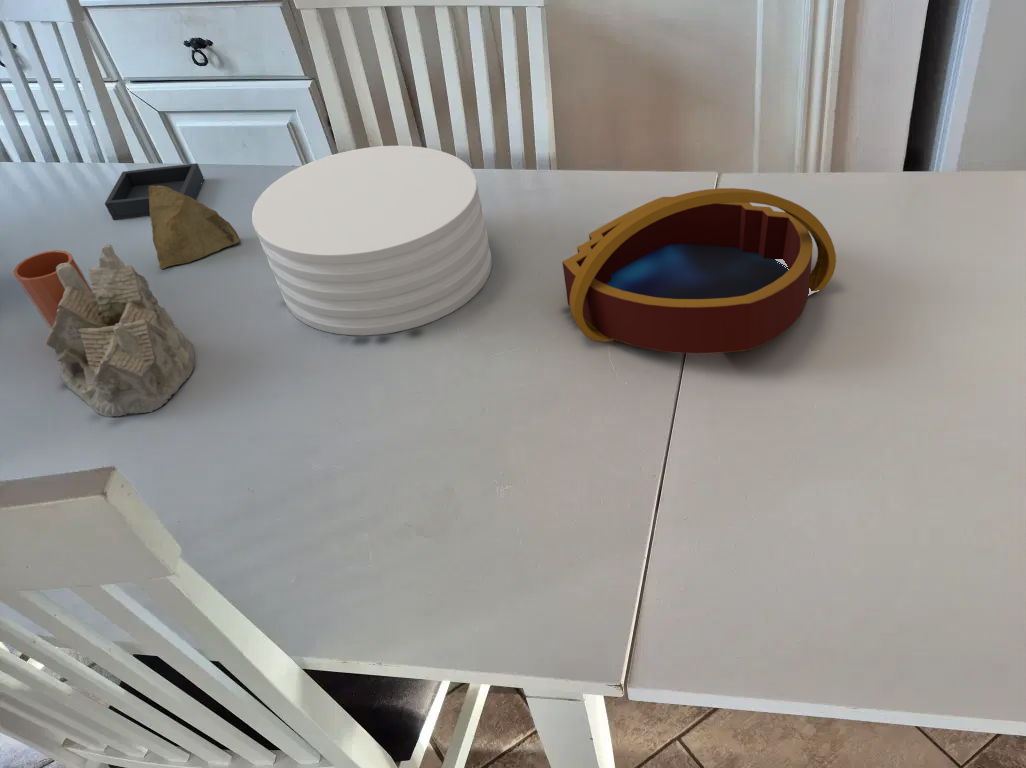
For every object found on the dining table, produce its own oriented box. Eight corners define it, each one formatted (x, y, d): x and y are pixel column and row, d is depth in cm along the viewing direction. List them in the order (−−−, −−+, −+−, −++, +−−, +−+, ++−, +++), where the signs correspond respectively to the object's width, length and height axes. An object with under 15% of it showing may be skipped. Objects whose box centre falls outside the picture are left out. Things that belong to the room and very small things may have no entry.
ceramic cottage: (88, 335, 107) (22, 233, 95) (217, 336, 107) (165, 233, 95) (30, 424, 97) (-52, 321, 85) (172, 424, 97) (109, 322, 85)
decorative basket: (790, 246, 119) (792, 137, 110) (882, 338, 97) (895, 211, 87) (556, 289, 115) (538, 180, 106) (596, 397, 92) (577, 269, 83)
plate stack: (472, 206, 126) (457, 131, 118) (510, 307, 108) (495, 226, 99) (281, 243, 121) (251, 167, 113) (286, 356, 103) (251, 274, 94)
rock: (247, 212, 123) (177, 206, 123) (222, 186, 115) (147, 179, 114) (238, 283, 122) (167, 277, 121) (213, 262, 113) (137, 255, 113)
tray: (113, 219, 128) (104, 203, 126) (130, 187, 135) (122, 171, 133) (191, 210, 129) (183, 194, 127) (204, 179, 136) (197, 163, 134)
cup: (52, 350, 105) (5, 282, 98) (67, 321, 110) (24, 253, 103) (105, 344, 106) (62, 275, 99) (118, 314, 110) (78, 247, 103)
